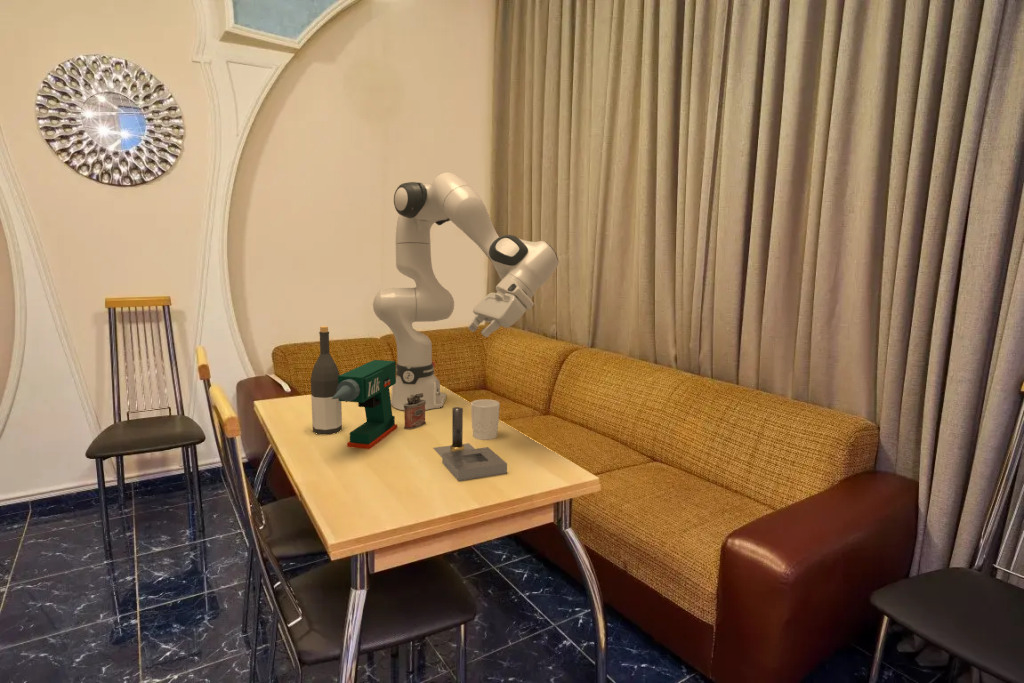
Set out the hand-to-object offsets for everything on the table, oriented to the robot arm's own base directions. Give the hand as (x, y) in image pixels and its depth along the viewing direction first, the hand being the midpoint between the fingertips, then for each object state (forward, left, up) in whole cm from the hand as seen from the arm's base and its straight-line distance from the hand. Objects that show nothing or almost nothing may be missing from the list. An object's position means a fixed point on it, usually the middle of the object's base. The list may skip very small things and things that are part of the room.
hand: (476, 332), depth 152 cm
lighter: (-13, -22, -31) cm, 40 cm away
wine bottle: (-4, -45, -31) cm, 55 cm away
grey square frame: (+15, +3, -31) cm, 35 cm away
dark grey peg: (+5, -4, -31) cm, 31 cm away
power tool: (+4, -30, -31) cm, 43 cm away
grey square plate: (+5, -4, -31) cm, 32 cm away
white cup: (-9, 0, -31) cm, 33 cm away
